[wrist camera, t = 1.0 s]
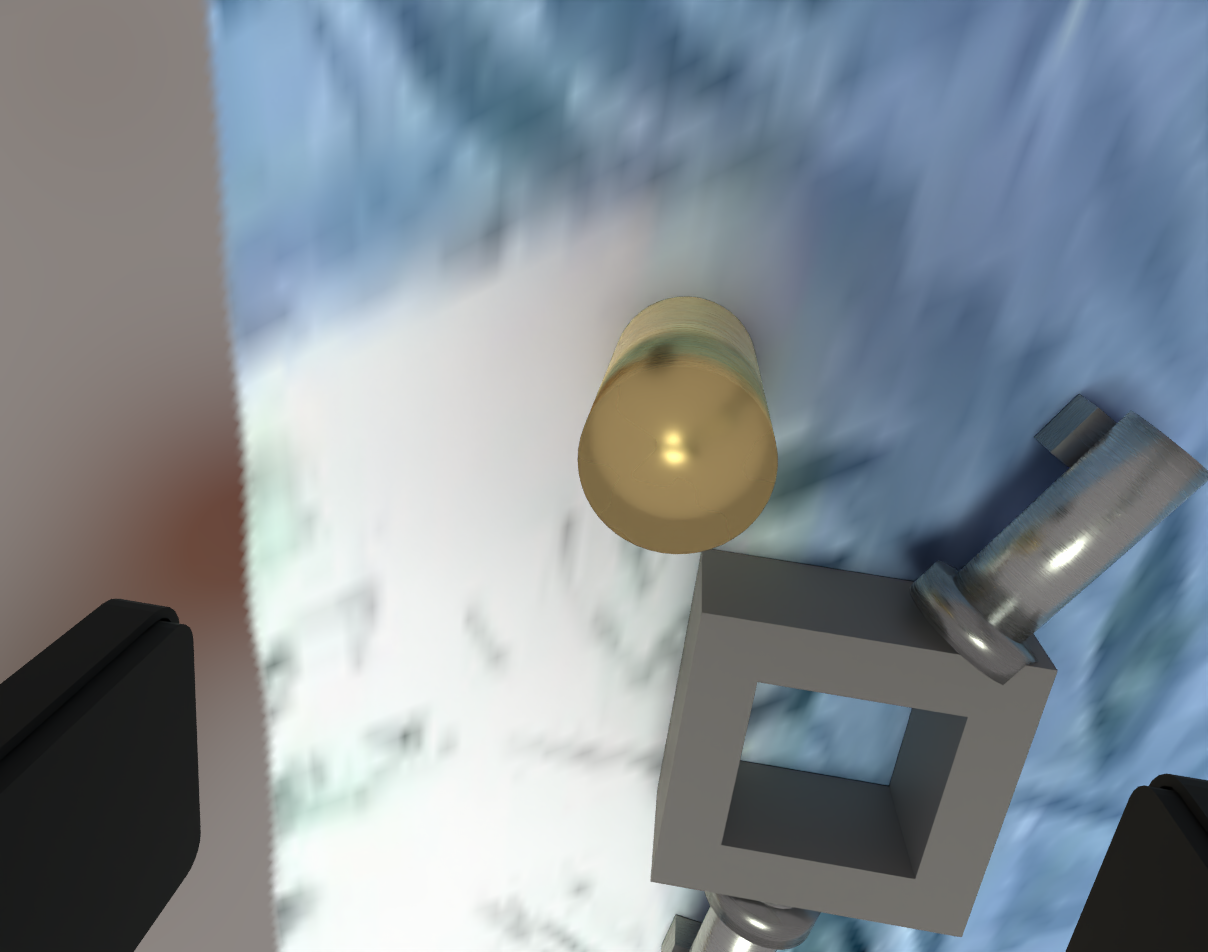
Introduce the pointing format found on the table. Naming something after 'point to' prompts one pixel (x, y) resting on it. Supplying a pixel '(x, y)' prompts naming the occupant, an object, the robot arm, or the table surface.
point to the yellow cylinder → (680, 431)
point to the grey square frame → (823, 803)
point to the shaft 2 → (1059, 536)
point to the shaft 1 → (740, 927)
